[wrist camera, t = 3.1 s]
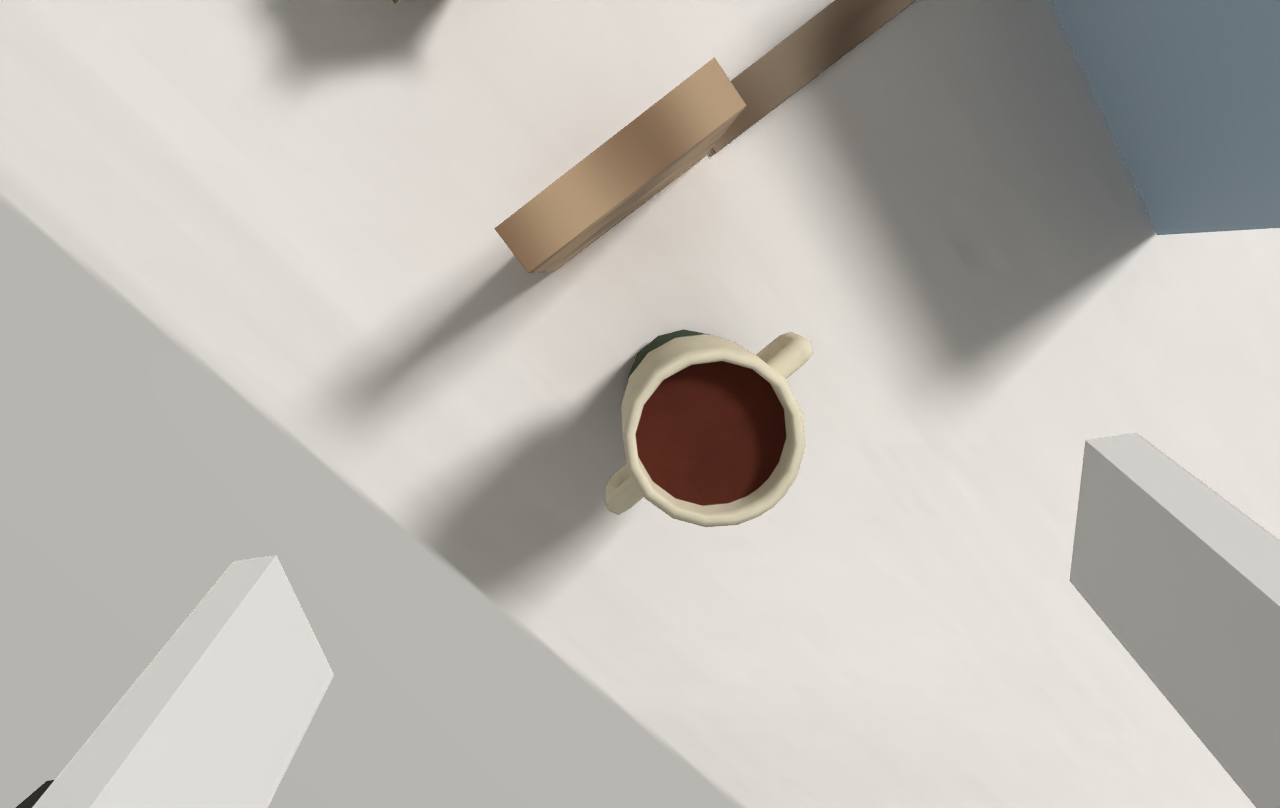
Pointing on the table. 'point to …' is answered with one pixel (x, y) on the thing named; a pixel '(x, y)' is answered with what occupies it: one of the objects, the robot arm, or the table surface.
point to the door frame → (680, 136)
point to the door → (1188, 104)
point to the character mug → (710, 428)
